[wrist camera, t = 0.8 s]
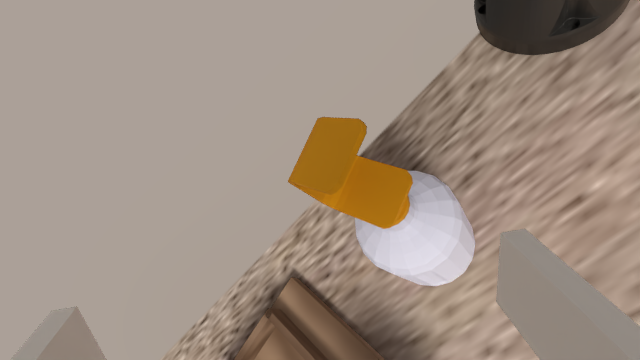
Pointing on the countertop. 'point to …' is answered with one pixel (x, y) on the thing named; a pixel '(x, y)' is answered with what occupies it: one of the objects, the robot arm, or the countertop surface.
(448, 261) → the soap bottle
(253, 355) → the caddy
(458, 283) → the countertop surface
